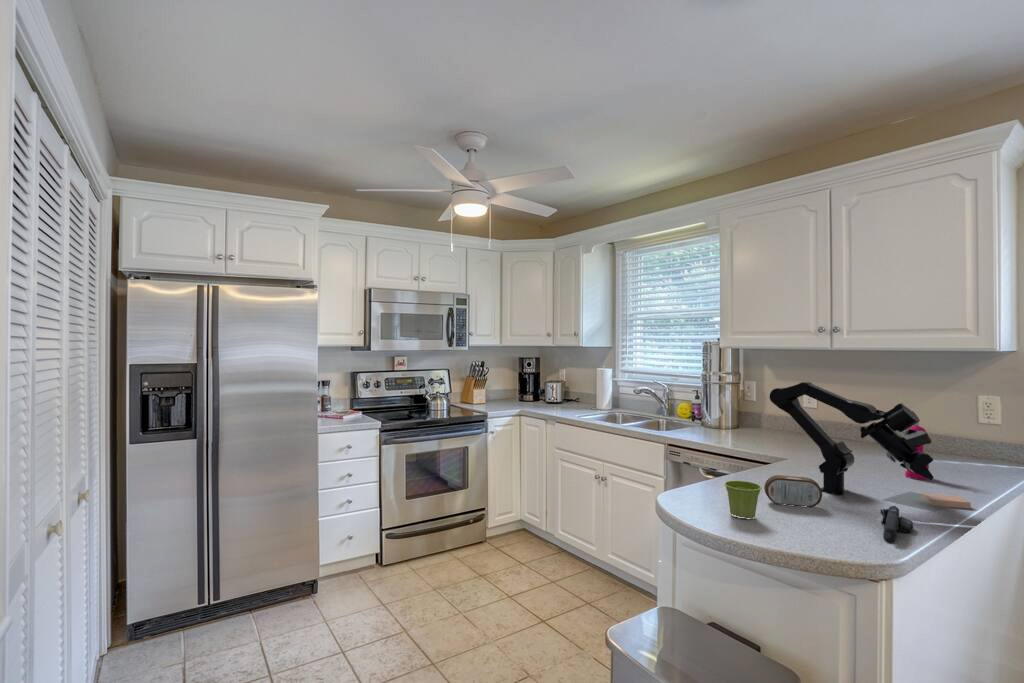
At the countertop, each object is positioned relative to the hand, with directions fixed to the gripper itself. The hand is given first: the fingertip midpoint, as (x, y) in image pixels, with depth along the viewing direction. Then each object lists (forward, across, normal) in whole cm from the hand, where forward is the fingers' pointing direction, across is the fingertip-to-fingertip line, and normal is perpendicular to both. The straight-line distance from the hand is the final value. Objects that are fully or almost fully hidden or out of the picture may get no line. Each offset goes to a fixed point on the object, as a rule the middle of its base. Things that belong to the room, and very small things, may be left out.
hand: (932, 478), depth 156 cm
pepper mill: (+12, +38, -1) cm, 40 cm away
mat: (+4, +2, +7) cm, 8 cm away
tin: (-22, -13, +34) cm, 42 cm away
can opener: (-9, -32, +20) cm, 39 cm away
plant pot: (-33, -29, +44) cm, 63 cm away
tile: (+4, 0, +5) cm, 6 cm away
